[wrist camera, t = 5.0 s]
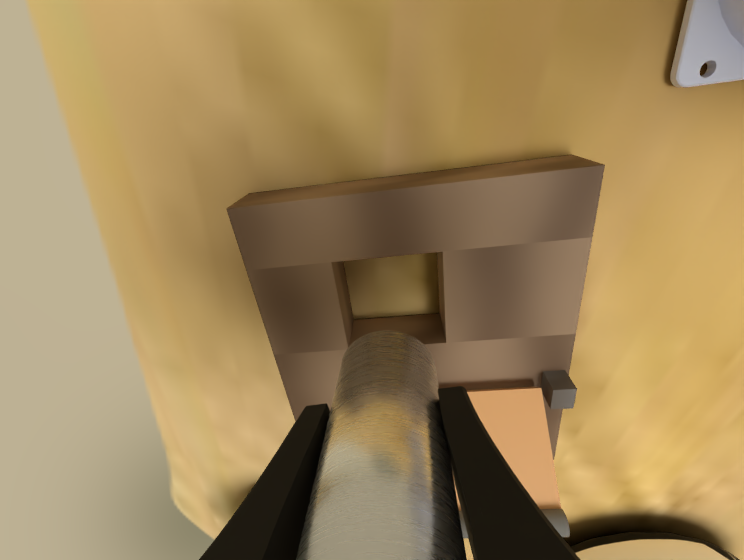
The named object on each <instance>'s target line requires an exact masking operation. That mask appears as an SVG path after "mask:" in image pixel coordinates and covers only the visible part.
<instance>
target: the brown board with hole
mask: <svg viewBox="0 0 744 560" xmlns="http://www.w3.org/2000/svg"><path fill="white" fill-rule="evenodd" d="M604 167H605V165H603V164H600V163H597V162H594V161H591V160H587V159H584V158H581V157H578V156H575V155H565V156H557V157H549V158H540V159H532V160H524V161H515V162H507V163H499V164H490V165H482V166H474V167H465V168H457V169H449V170H440V171H432V172H424V173H415V174H407V175H399V176H390V177H382V178H374V179H365V180H357V181H349V182H340V183H332V184H324V185H315V186H307V187H299V188H290V189H282V190H274V191H265V192H257V193H249V194H248V195H246V196H245V197H243V198H242V199H240V200H239V201H237V202H236V203H234V204H233V205H231V206H230V207H228V208H227V212H228V215H229V218H230V221H231V224H232V227H233V230H234V234H235V237H236V240H237V243H238V246H239V249H240V252H241V255H242V258H243V261H244V264H245V267H246V270H247V274H248V277H249V280H250V283H251V286H252V289H253V292H254V295H255V298H256V301H257V304H258V307H259V310H260V314H261V317H262V320H263V323H264V326H265V329H266V332H267V335H268V338H269V341H270V344H271V347H272V350H273V354H274V357H275V360H276V363H277V366H278V369H279V372H280V375H281V378H282V381H283V384H284V387H285V390H286V393H287V397H288V400H289V403H290V406H291V409H292V412H293V415H294V418H295V421H296V420H297V419H298V417H299V416H300V414H301V413H302V411H303V409H304V408H305V407H306V406H309V405H317V404H325V403H327V405H328V407H329V410H331V406H332V402H333V397H334V393H335V389H336V384H337V380H338V376H339V371H340V367H341V363H342V358H343V356H344V353H345V352H346V350H347V349H348V347H349V346H350V345H351V344H352V343H353V342H354V341H355V340H357V339H358V338H360V337H362V336H364V335H366V334H369V333H372V332H376V331H397V332H402V333H405V334H408V335H410V336H412V337H414V338H416V339H418V340H419V341H420V342H422V343H423V344H424V345H425V346H426V347H427V348H428V350H429V351H430V353H431V354H432V356H433V359H434V362H435V367H436V373H437V379H438V386H439V389H441V388H449V387H456V386H462V387H464V388H465V389H466V390H482V389H500V388H518V387H539V388H541V389H542V395H543V401H544V407H545V413H546V419H547V425H548V431H549V437H550V443H551V449H552V455H553V460H554V456H555V450H556V445H557V439H558V433H559V427H560V421H561V416H562V410H563V409H567V408H573V407H574V401H575V396H576V391H577V388H576V387H575V385H574V384H573V382H572V380H571V379H570V377H569V376H568V375H569V369H570V363H571V358H572V352H573V346H574V340H575V335H576V329H577V323H578V317H579V311H580V306H581V300H582V294H583V288H584V282H585V277H586V271H587V265H588V259H589V254H590V248H591V242H592V236H593V230H594V225H595V219H596V213H597V207H598V201H599V196H600V190H601V184H602V178H603V172H604ZM433 252H437V266H438V288H439V310H440V313H436V314H423V315H411V316H398V317H385V318H372V319H359V320H354V319H353V314H352V308H351V303H350V297H349V292H348V286H347V281H346V275H345V270H344V264H343V261H349V260H360V259H370V258H381V257H391V256H402V255H412V254H422V253H433Z"/></svg>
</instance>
